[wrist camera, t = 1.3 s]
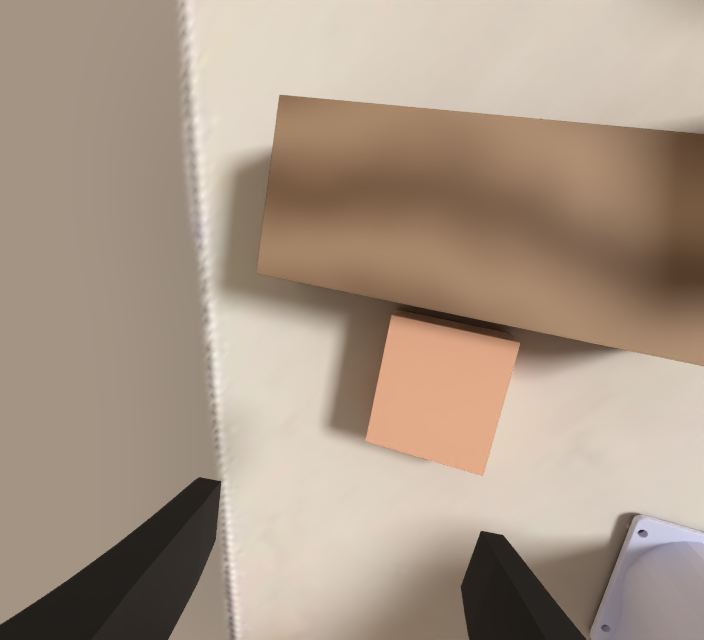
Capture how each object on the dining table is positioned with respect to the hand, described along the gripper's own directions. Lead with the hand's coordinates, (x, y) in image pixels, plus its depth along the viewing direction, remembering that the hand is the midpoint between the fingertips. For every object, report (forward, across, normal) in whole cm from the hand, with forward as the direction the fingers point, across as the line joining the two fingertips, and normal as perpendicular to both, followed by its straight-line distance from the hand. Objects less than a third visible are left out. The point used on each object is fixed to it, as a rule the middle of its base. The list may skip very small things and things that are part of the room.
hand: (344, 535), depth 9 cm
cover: (+14, -5, +1) cm, 15 cm away
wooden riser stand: (+14, -5, -9) cm, 18 cm away
